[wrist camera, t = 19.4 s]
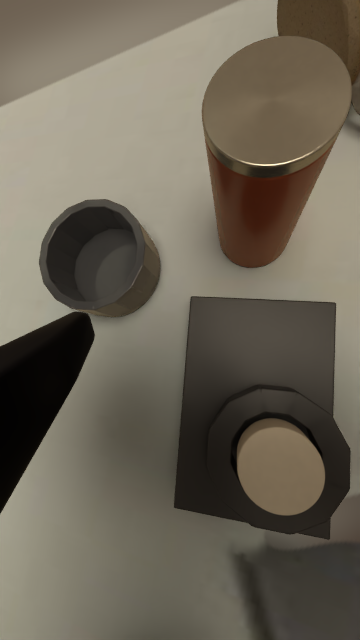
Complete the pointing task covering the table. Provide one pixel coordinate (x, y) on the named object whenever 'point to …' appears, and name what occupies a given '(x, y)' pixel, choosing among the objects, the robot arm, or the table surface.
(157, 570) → the table surface
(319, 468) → the release button
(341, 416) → the table surface
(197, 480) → the plate with ring holder
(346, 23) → the ceramic mug
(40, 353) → the robot arm
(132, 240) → the capsule holder
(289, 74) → the orange metal cylinder
